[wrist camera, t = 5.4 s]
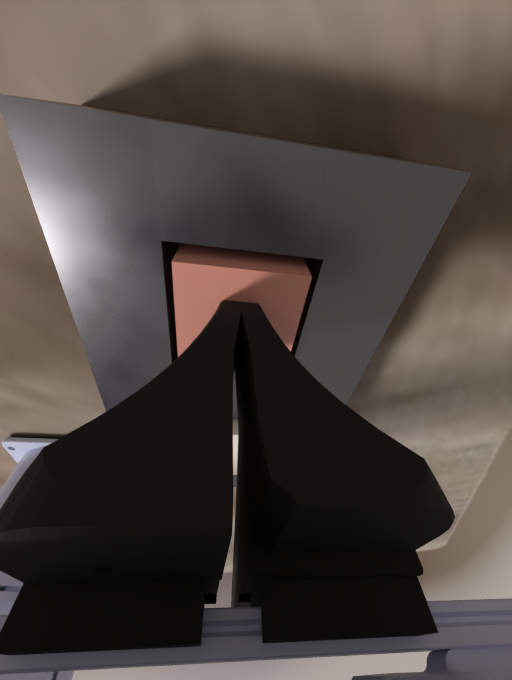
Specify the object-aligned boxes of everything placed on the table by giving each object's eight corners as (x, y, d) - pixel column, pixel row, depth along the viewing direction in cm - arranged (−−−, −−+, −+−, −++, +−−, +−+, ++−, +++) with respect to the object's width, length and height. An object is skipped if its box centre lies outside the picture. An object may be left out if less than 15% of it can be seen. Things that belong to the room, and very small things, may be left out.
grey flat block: (293, 438, 23) (301, 487, 20) (148, 432, 21) (132, 484, 18) (404, 158, 10) (472, 172, 7) (79, 104, 9) (-6, 93, 6)
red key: (277, 330, 14) (284, 372, 11) (190, 323, 13) (178, 365, 11) (297, 244, 11) (312, 276, 9) (187, 231, 10) (171, 261, 8)
